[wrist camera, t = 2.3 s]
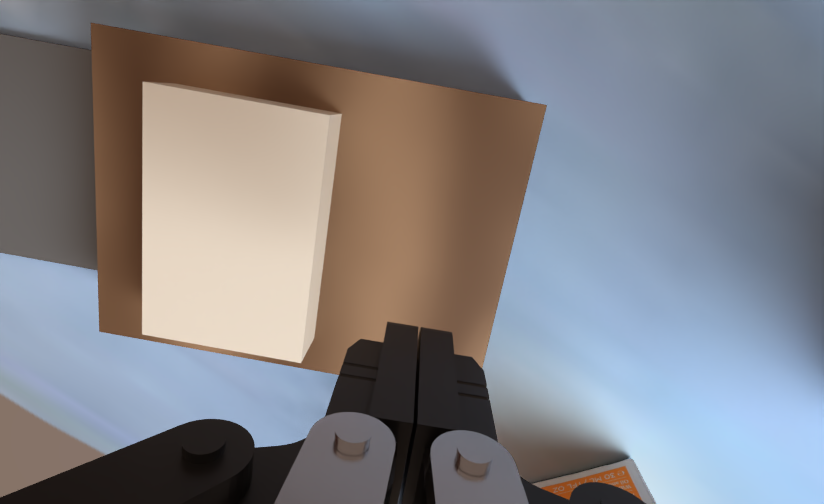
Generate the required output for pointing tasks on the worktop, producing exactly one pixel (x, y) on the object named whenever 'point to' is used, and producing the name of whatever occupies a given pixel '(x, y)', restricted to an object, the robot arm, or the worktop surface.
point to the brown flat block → (337, 189)
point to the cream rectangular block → (234, 218)
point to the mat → (47, 152)
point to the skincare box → (602, 480)
